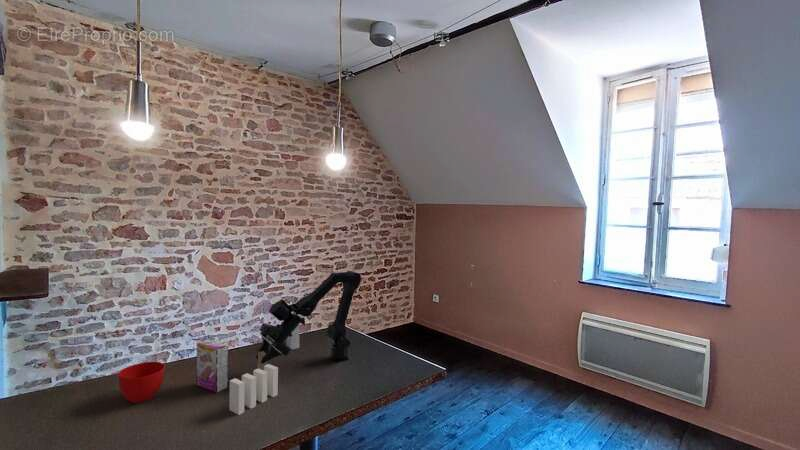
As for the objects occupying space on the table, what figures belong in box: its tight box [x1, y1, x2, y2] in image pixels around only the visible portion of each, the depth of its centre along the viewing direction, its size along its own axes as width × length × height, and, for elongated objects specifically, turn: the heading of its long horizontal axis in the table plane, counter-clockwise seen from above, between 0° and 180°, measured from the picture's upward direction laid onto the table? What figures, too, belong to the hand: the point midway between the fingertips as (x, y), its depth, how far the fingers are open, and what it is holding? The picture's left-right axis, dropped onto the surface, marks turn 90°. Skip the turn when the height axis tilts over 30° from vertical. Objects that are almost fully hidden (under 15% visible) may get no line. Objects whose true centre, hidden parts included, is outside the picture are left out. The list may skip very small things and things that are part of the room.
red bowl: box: [117, 361, 166, 404], centre depth 128 cm, size 13×17×10 cm
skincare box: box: [285, 324, 300, 350], centre depth 175 cm, size 6×4×12 cm
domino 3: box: [257, 351, 268, 371], centre depth 143 cm, size 2×5×10 cm, turn 39°
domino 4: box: [252, 368, 268, 403], centre depth 128 cm, size 2×5×10 cm, turn 59°
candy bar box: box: [196, 338, 229, 394], centre depth 135 cm, size 11×5×16 cm, turn 65°
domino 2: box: [241, 372, 257, 409], centre depth 124 cm, size 2×5×10 cm, turn 59°
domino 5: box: [264, 363, 279, 398], centre depth 132 cm, size 2×5×10 cm, turn 59°
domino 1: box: [228, 377, 245, 416], centre depth 120 cm, size 2×5×10 cm, turn 59°
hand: (258, 360), depth 142 cm, fingers closed on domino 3, 5 cm apart
